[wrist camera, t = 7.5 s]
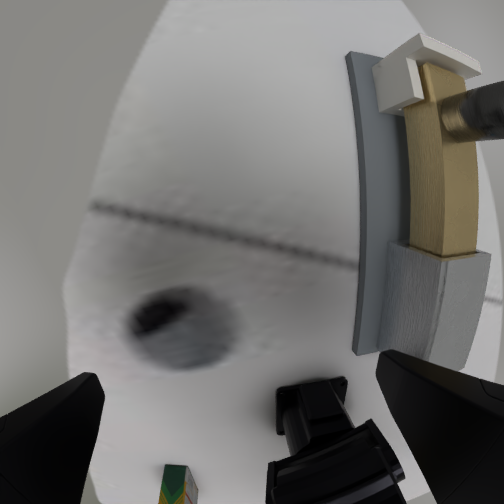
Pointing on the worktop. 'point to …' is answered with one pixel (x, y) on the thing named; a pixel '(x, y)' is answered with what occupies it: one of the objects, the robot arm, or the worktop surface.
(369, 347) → the board
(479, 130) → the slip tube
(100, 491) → the worktop surface
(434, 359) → the sleeve
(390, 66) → the socket
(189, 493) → the crayon box
